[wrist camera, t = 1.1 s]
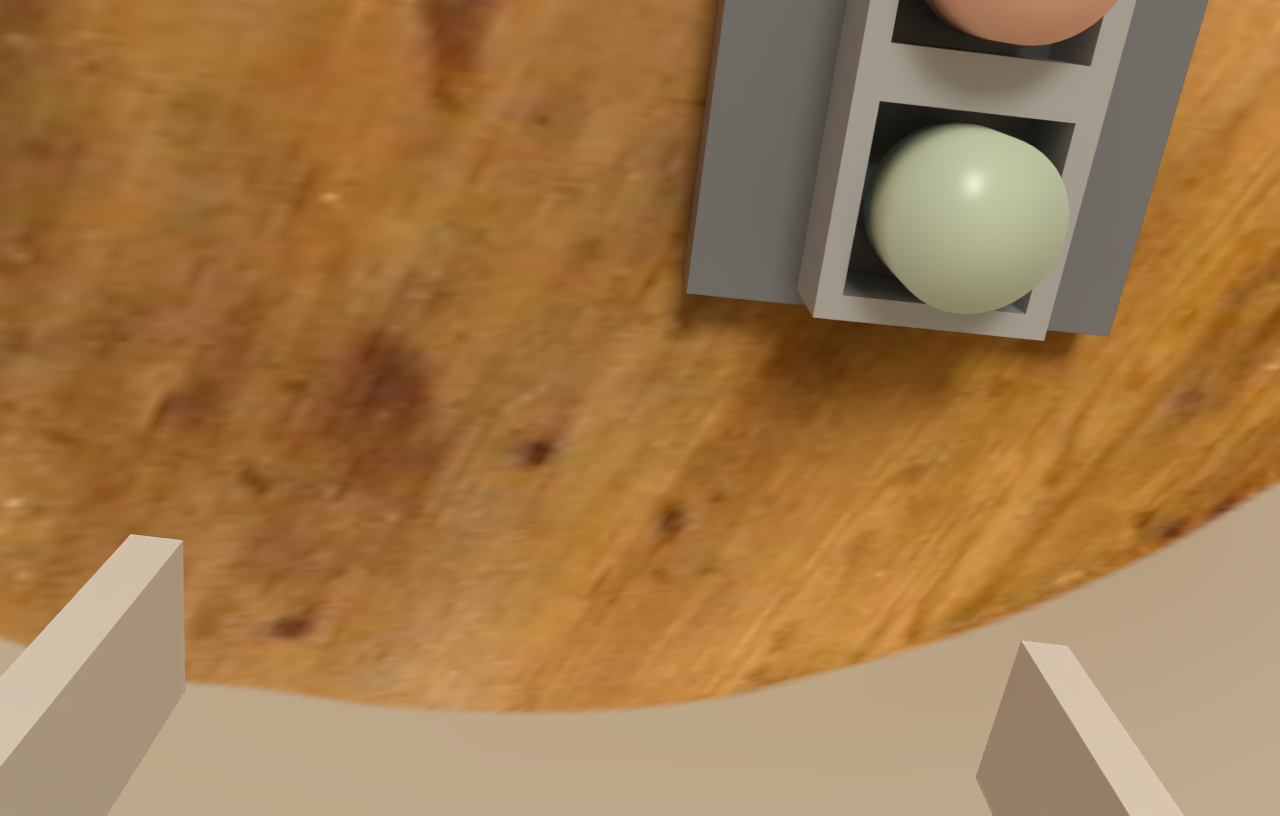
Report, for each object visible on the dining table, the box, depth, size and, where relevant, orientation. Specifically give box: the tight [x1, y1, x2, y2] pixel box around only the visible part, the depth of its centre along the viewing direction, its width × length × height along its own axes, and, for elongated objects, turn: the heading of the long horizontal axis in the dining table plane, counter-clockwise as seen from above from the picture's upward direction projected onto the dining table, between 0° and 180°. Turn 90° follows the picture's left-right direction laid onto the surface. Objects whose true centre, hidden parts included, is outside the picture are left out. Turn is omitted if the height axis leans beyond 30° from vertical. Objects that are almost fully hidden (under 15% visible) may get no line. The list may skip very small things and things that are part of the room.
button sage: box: [864, 120, 1069, 314], centre depth 29 cm, size 5×5×3 cm
